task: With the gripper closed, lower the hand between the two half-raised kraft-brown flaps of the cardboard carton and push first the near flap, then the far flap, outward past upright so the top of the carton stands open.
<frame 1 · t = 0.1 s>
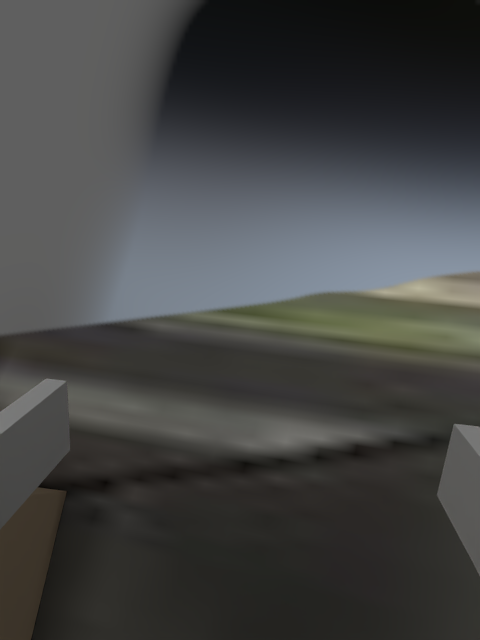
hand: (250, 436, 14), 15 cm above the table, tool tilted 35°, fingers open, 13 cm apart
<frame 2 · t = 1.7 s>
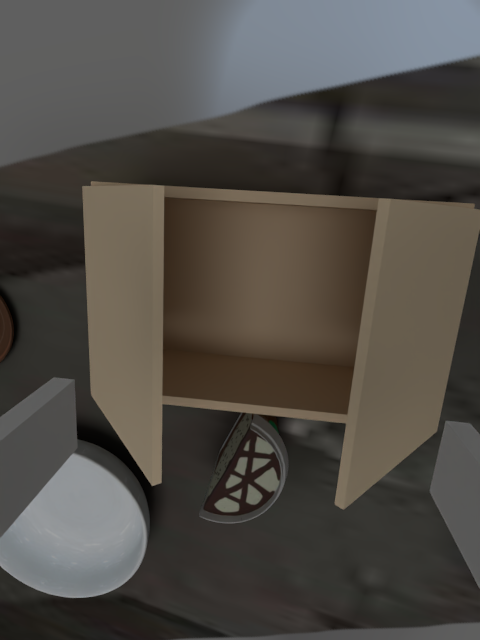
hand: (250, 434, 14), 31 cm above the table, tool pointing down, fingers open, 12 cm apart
food container: (258, 432, 49), on the table
serving bowl: (86, 488, 54), on the table
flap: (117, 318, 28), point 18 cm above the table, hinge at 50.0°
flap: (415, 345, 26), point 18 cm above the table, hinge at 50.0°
carton: (270, 284, 44), on the table
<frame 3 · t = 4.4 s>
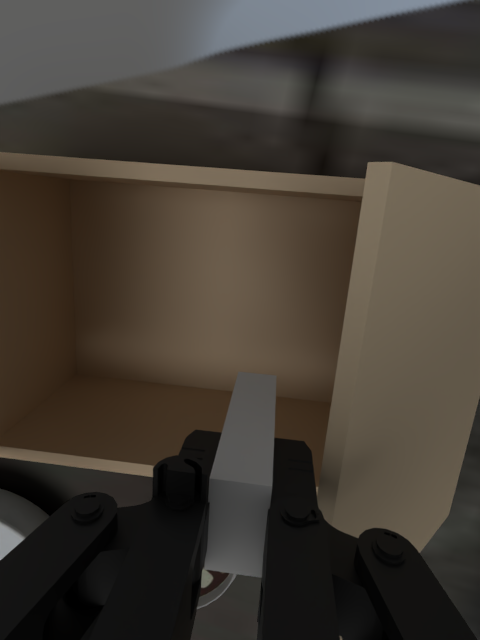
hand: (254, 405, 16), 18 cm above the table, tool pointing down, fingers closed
food container: (219, 479, 39), on the table
serving bowl: (9, 539, 44), on the table
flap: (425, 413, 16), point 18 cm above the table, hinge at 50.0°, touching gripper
carton: (231, 296, 34), on the table
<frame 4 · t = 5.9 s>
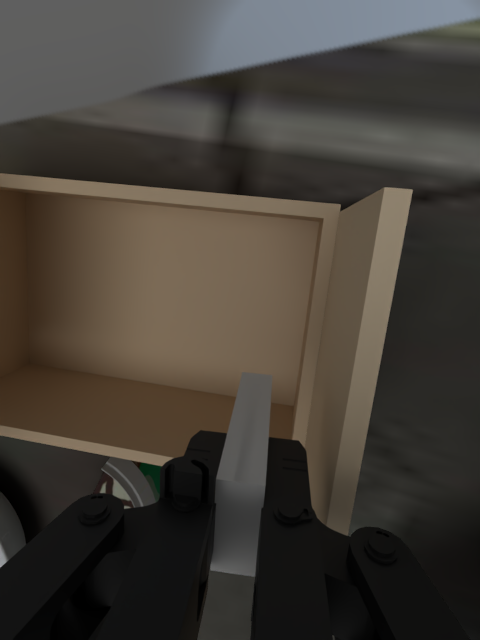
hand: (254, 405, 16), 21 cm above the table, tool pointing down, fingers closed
food container: (154, 468, 42), on the table
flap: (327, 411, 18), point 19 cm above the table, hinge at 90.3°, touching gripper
carton: (162, 298, 38), on the table
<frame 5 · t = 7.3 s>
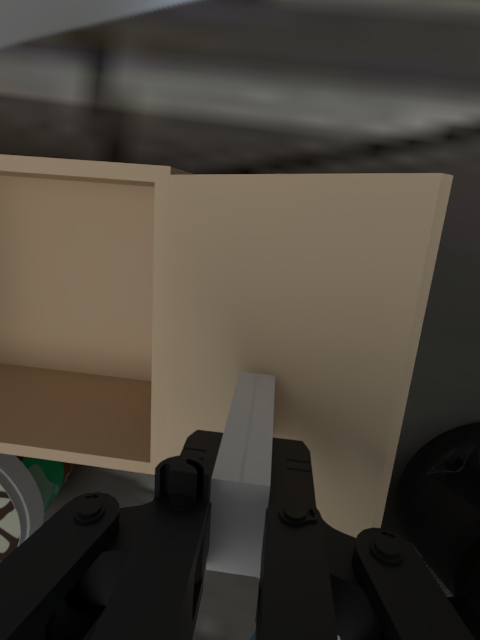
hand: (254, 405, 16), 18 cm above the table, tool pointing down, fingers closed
food container: (59, 456, 41), on the table
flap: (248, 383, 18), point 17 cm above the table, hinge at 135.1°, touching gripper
carton: (48, 278, 35), on the table
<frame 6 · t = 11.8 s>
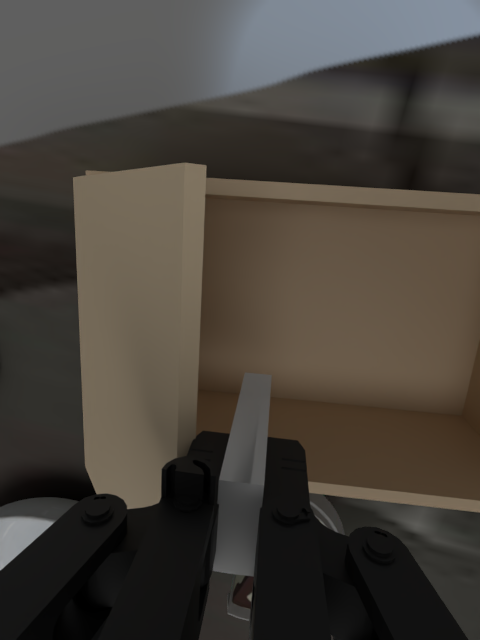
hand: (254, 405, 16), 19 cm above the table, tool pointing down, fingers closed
food container: (294, 488, 39), on the table
serving bowl: (78, 551, 44), on the table
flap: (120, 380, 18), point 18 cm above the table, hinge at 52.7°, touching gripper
carton: (315, 307, 34), on the table
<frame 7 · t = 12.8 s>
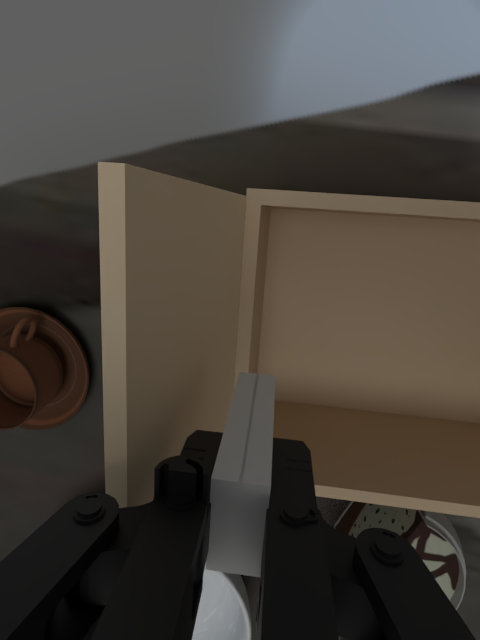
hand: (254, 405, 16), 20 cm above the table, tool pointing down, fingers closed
cup and saucer: (39, 362, 40), on the table
food container: (387, 503, 39), on the table
serving bowl: (160, 561, 44), on the table
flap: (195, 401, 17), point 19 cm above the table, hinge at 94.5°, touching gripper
carton: (421, 321, 34), on the table
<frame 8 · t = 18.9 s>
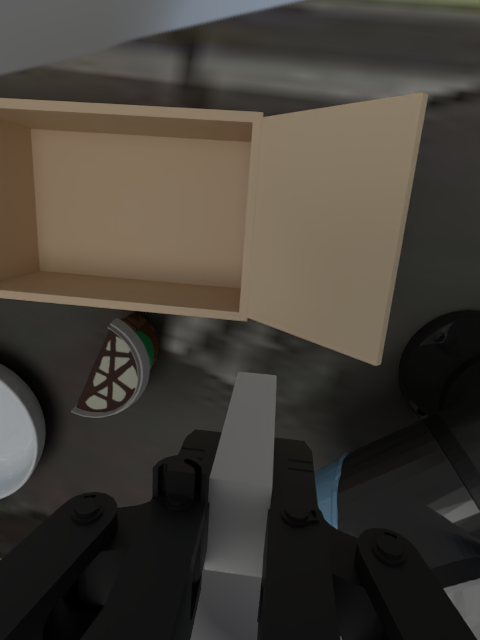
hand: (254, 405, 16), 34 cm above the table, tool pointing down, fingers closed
food container: (144, 351, 54), on the table
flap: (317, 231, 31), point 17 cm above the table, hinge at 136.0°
carton: (144, 211, 49), on the table
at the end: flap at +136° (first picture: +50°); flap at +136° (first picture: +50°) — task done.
